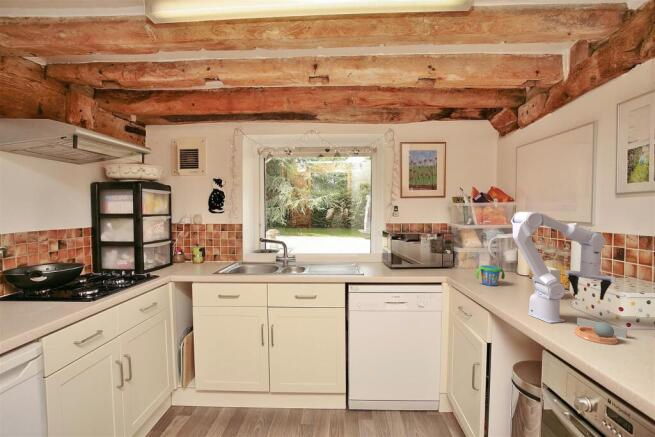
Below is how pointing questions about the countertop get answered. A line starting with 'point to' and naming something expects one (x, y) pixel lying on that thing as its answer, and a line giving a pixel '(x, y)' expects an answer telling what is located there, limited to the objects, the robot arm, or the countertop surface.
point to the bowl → (593, 335)
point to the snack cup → (490, 274)
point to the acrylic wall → (589, 323)
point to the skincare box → (554, 273)
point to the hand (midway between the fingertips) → (588, 296)
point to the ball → (603, 330)
